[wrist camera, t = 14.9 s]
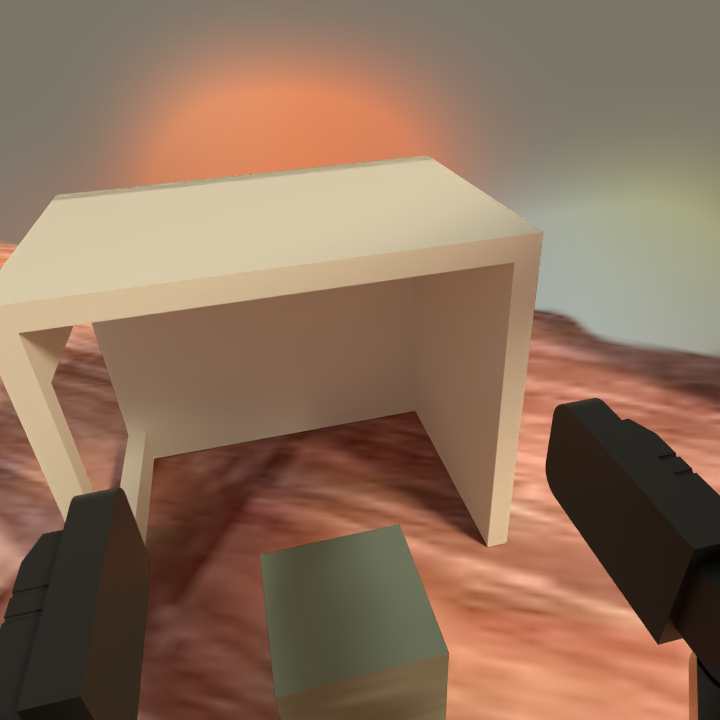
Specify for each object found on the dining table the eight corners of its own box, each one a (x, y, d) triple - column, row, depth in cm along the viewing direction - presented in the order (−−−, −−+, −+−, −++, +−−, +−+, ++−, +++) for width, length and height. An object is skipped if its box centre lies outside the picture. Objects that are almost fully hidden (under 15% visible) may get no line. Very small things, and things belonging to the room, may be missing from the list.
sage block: (403, 705, 27) (399, 524, 21) (439, 831, 23) (448, 652, 17) (296, 734, 27) (259, 554, 20) (314, 870, 22) (275, 697, 16)
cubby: (424, 399, 48) (427, 155, 38) (506, 542, 35) (543, 231, 25) (138, 451, 44) (56, 195, 34) (114, 632, 31) (-30, 309, 21)
